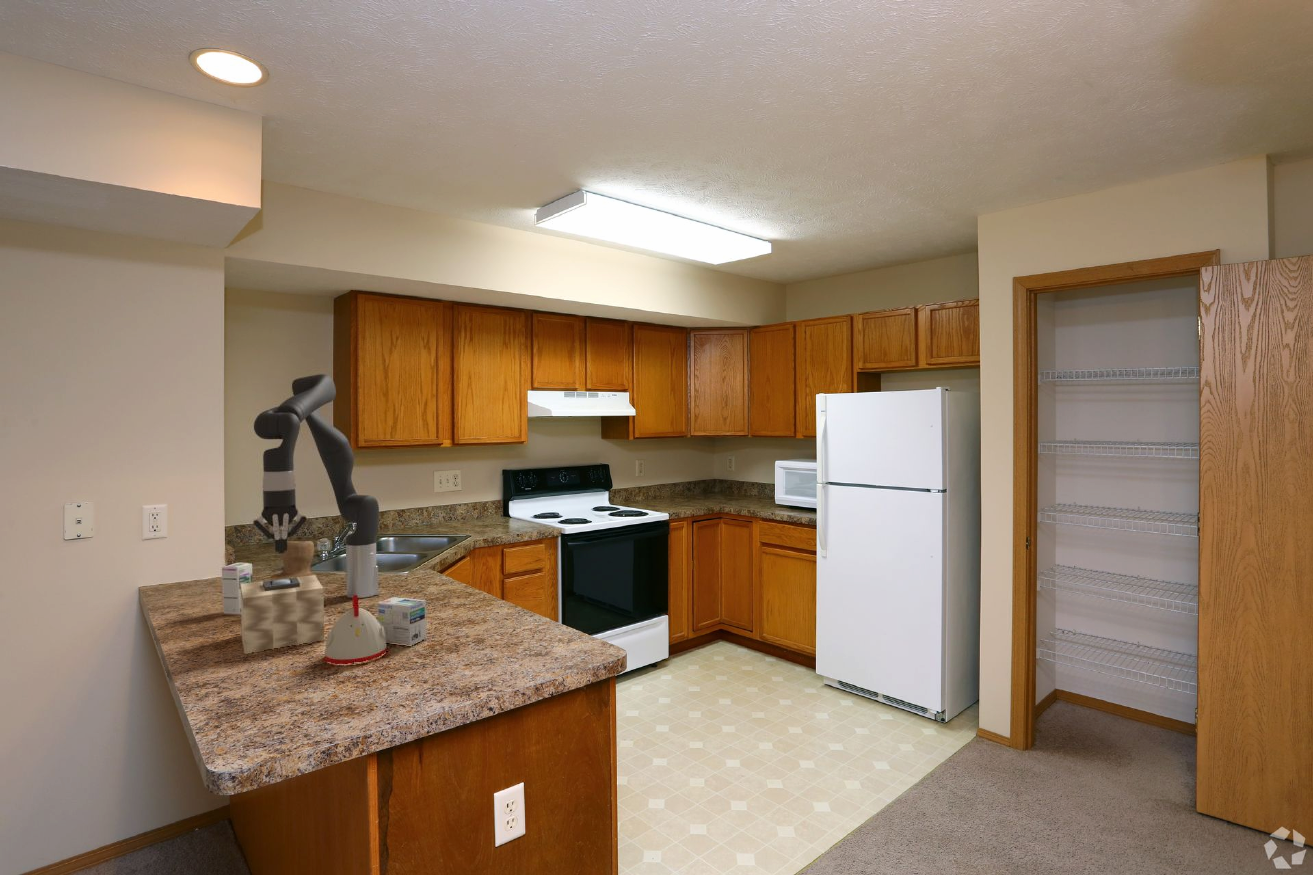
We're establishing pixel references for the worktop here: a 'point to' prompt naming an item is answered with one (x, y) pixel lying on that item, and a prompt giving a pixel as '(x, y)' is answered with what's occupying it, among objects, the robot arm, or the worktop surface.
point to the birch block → (281, 615)
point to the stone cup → (296, 560)
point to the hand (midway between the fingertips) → (281, 552)
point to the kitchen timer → (355, 637)
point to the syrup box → (234, 585)
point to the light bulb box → (403, 620)
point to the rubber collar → (292, 584)
